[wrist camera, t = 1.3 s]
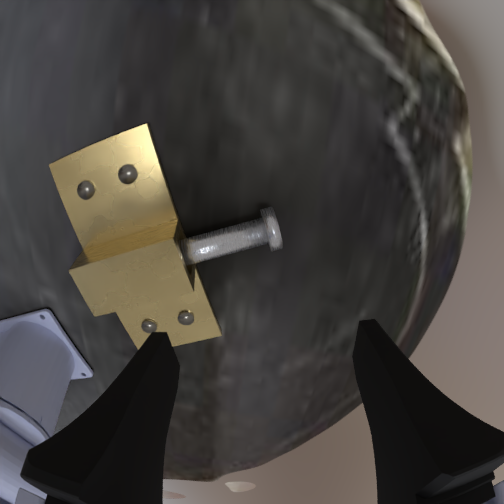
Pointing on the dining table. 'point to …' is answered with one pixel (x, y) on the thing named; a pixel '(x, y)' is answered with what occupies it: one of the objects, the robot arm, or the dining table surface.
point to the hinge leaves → (132, 240)
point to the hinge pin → (233, 239)
